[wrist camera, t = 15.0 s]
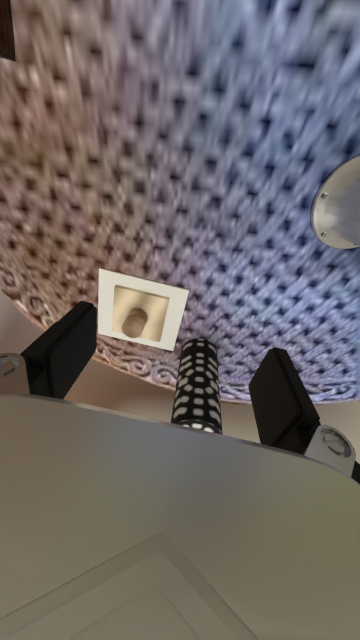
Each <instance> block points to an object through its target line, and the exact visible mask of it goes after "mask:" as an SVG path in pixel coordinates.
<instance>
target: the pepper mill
mask: <svg viewBox="0 0 360 640" xmlns="http://www.w3.org/2000/svg"><path fill="white" fill-rule="evenodd" d="M0 57H1V58H5V59H9V60H13V61H15V51H14V35H13V26H12V17H11V8H10V0H0Z"/></svg>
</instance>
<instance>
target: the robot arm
mask: <svg viewBox="0 0 360 640" xmlns="http://www.w3.org/2000/svg"><path fill="white" fill-rule="evenodd" d="M322 194H323V197H321V195H322ZM311 226H312V230H313V232H314V234H315V236H316V237H317V238H318V239H319V240H320V241H321V242H323V243H324V244H326V245H328V246H330V247H333V248H337V249H350V248H355V247H359V246H360V155H359V156H356V157H354V158H352V159H350V160H348V161H347V162H345V163H343V164H342V165H341V166H339V167H338V168H337V169H336V170H334V171H333V172H332V174H331V175H330V176H329V177H328V178H327V179H326V180H325V182H324V183H323V184H322V186H321V187H320V189H319V191H318V192H317V194H316V196H315V199H314V202H313V205H312V209H311ZM322 232H323V233H322ZM321 233H322V234H321ZM96 333H97V308H96V307H94V305H93V304H92V303H88V302H84V301H80V302H79V303H78V304H77V305H76V306H75V307H74V308H73V309H71V310H70V311H69V312H68V313H67V314H66V315H65V316H64V317H63V318H62V319H60V320H59V321H58V322H56V323H54V324H53V325H52V326H51V327H50V328H49V329H48V330H46V331H45V332H44V333H43V334H42V335H41V336H40V337H39V338H38V339H36V340H35V341H34V342H33V343H32V344H31V345H30V346H29V347H28V348H27V349H25V350H24V351H23V352H22V353H21V354H20V355H19V354H16V353H1V354H0V640H360V464H358V463H357V462H356V461H355V458H356V453H355V450H354V448H353V446H352V444H351V443H350V441H349V440H348V439H347V438H346V437H345V436H344V435H343V434H342V433H341V432H339V431H338V430H336V429H335V428H333V427H330V426H328V425H321V424H320V422H319V419H320V417H319V415H318V413H317V411H316V409H315V408H314V405H313V403H312V401H311V399H310V397H309V395H308V393H307V391H306V389H305V387H304V385H303V383H302V381H301V379H300V377H299V375H298V373H297V371H296V369H295V367H294V365H293V363H292V361H291V359H290V357H289V355H288V353H287V351H286V350H284V349H280V348H276V347H275V348H273V349H270V350H269V351H268V352H267V354H266V356H265V357H264V359H263V361H262V363H261V364H260V366H259V368H258V369H257V371H256V373H255V375H254V376H253V378H252V380H251V381H250V384H249V391H250V396H251V400H252V405H253V410H254V414H255V419H256V424H257V428H258V433H259V438H260V442H261V444H259V443H256V442H251V441H247V440H242V439H238V438H234V437H230V436H225V435H221V434H217V433H213V432H208V431H204V430H199V429H195V428H191V427H186V426H182V425H177V424H173V423H169V422H164V421H160V420H155V419H150V418H146V417H142V416H137V415H133V414H128V413H124V412H119V411H115V410H110V409H106V408H101V407H97V406H92V405H87V404H83V403H78V402H73V401H68V400H63V399H64V397H65V396H66V394H67V392H68V391H69V390H70V388H71V387H72V385H73V384H74V382H75V381H76V379H77V378H78V376H79V375H80V373H81V372H82V370H83V369H84V367H85V366H86V364H87V363H88V361H89V360H90V358H91V357H92V356H93V354H94V352H95V350H96Z"/></svg>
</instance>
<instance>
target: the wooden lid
mask: <svg viewBox="0 0 360 640" xmlns="http://www.w3.org/2000/svg"><path fill="white" fill-rule="evenodd" d="M168 302H169V297H165V296H160V295H156V294H152V293H148V292H144V291H140V290H136V289H132V288H127V287H123V286H119V285H115V287H114V302H113V320H112V331H114V332H118V333H122V334H125V335H126V336H127V337H130V338H137V337H139V338H144V339H148V340H152V341H156V342H160V340H161V335H162V331H163V326H164V321H165V316H166V312H167V307H168Z"/></svg>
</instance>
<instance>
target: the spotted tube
mask: <svg viewBox="0 0 360 640" xmlns="http://www.w3.org/2000/svg"><path fill="white" fill-rule="evenodd" d="M220 408H221V407H220V393H219V378H218V363H217V351H216V348H215V346H214V345H213V344H212V343H211V342H209V341H207V340H205V339H192V340H190V341H188V342H186V343H185V344H184V345H183V347H182V350H181V357H180V364H179V370H178V377H177V384H176V391H175V397H174V404H173V411H172V418H171V423H173V424H177V425H182V426H186V427H191V428H195V429H199V430H204V431H208V432H213V433H217V434H221V435H222V425H221V424H222V422H221V409H220Z"/></svg>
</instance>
